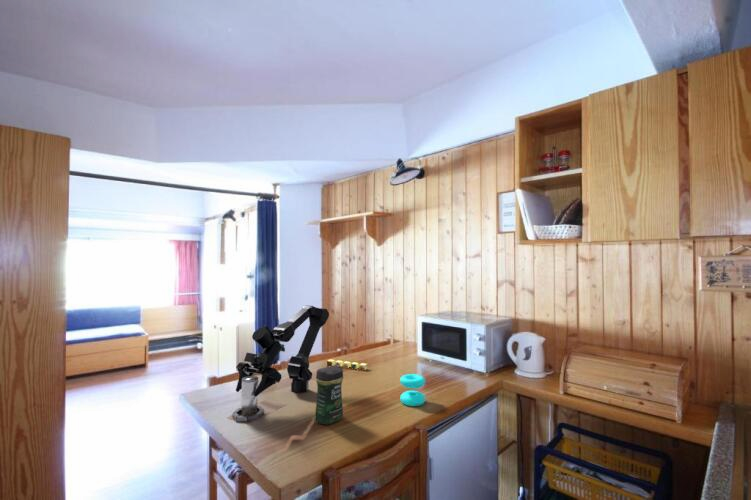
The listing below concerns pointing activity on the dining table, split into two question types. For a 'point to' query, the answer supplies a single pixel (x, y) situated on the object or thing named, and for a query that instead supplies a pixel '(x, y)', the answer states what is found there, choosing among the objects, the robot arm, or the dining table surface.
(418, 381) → the donuts
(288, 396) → the dining table surface
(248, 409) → the cylinder
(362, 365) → the yellow segmented block row
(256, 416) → the ring collar
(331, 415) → the coffee jar
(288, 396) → the dining table surface
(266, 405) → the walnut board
